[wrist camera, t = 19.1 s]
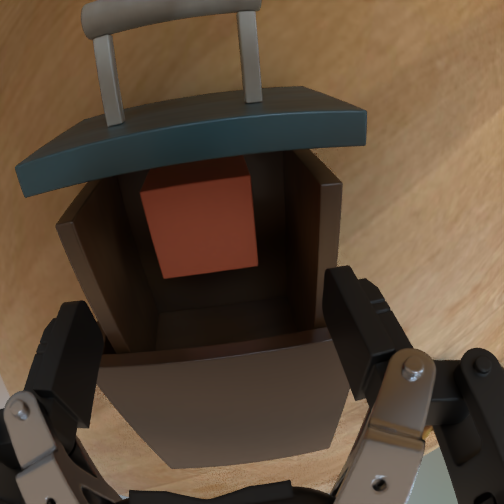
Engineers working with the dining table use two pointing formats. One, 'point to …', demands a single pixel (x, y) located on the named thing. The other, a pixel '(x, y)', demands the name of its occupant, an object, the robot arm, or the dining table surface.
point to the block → (201, 216)
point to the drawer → (190, 150)
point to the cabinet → (230, 398)
